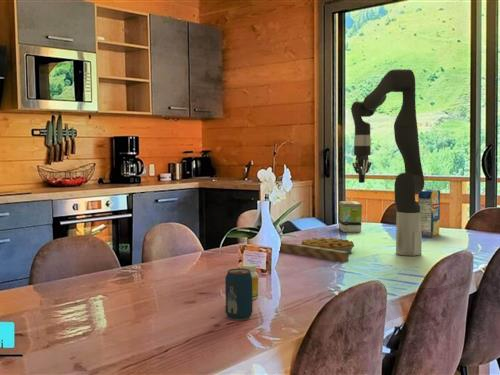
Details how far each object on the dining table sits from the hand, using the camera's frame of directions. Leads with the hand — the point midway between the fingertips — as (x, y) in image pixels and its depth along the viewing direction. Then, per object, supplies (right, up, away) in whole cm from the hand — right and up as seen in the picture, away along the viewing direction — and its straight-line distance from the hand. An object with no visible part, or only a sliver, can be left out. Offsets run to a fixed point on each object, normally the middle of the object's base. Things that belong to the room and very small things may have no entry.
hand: (361, 182), depth 264 cm
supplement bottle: (-52, -34, -99) cm, 117 cm away
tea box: (+1, -25, +36) cm, 44 cm away
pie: (-19, -29, -25) cm, 43 cm away
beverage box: (+37, -26, +20) cm, 50 cm away
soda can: (-54, -36, -118) cm, 134 cm away
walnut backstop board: (-28, -30, -34) cm, 53 cm away
